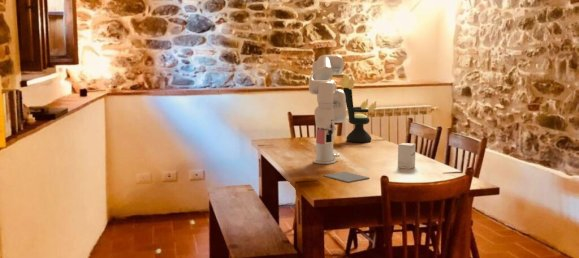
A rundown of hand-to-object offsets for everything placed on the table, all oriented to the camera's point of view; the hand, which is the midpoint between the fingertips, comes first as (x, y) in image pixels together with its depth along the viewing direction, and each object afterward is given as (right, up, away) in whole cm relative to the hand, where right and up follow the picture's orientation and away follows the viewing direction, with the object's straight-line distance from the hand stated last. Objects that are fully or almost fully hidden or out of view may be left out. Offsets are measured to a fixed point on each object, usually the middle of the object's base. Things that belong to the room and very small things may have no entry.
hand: (325, 141), depth 314 cm
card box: (0, -1, 0) cm, 1 cm away
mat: (+10, -18, -11) cm, 23 cm away
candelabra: (+26, -2, +99) cm, 103 cm away
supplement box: (+44, -14, +13) cm, 48 cm away
